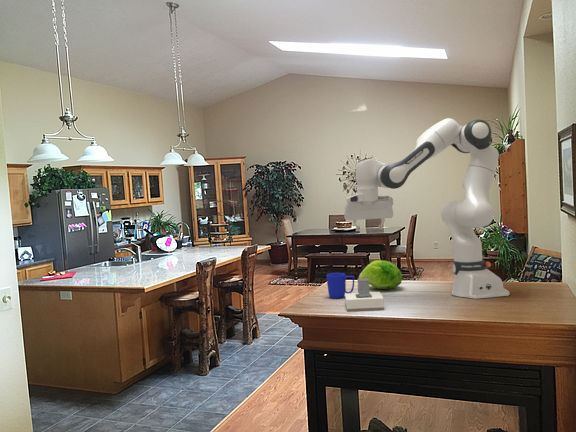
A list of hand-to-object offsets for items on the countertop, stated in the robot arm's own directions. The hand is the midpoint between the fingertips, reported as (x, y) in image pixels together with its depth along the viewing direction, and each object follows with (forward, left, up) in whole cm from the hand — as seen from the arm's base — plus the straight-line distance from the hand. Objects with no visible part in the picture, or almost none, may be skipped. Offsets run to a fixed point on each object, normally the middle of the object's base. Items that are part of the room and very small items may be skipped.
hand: (369, 230), depth 212 cm
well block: (+5, +14, -29) cm, 33 cm away
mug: (+13, -6, -29) cm, 33 cm away
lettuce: (-6, -19, -29) cm, 35 cm away
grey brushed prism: (+5, +14, -28) cm, 32 cm away
